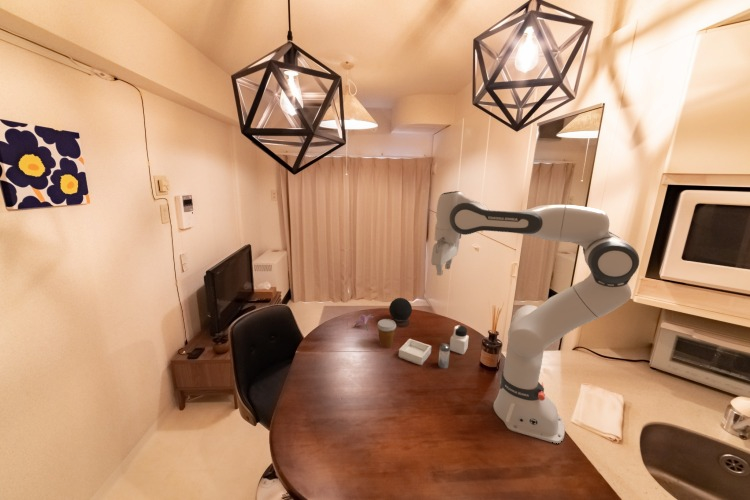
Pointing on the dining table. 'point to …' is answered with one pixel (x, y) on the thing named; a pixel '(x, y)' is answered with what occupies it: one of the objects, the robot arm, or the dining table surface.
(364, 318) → the lily
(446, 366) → the salt shaker
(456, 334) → the medicine bottle
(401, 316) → the black ball on stand
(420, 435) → the dining table surface
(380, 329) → the disposable coffee cup
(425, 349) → the white square tray
